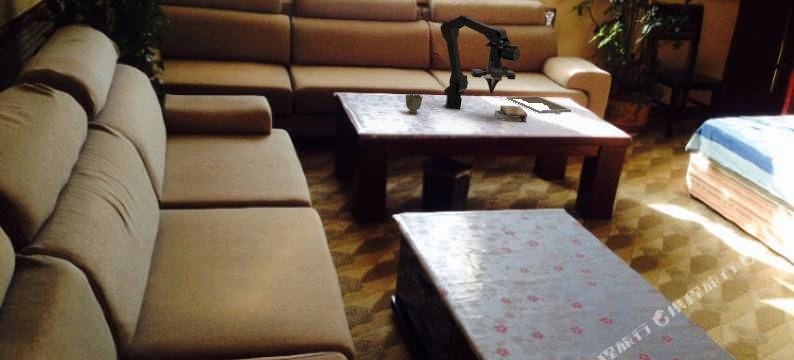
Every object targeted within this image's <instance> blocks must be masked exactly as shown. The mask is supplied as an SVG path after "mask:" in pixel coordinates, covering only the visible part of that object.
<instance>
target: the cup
mask: <svg viewBox="0 0 794 360" xmlns="http://www.w3.org/2000/svg"><path fill="white" fill-rule="evenodd" d="M423 97H424V96H423V95H421V94H419V93H418V94H416V93H414V94H413V93H407V94H405V105H406V108H407V109H408V113H409V114H411V115H412V114H413V115H414V114H417V112H418V110H419V109H420V108H421V105H422V101H423Z"/></svg>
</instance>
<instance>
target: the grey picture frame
mask: <svg viewBox="0 0 794 360" xmlns="http://www.w3.org/2000/svg"><path fill="white" fill-rule="evenodd" d="M505 99H506V100H507V99H508V100H507V101H509V100H511V101H513V102H512V103H514V102H515V103H514V104H516V103H518V104H520V105H522V106H521V107H523V106H524V107H523V108H525V107H526V109H527V108H529V109H531V110H530V111H532V110H533V111H532V112H534V111H535V112H534V113H536V112H538V113H542V114H553V113H554V115H560V114H561V113H571V112H572V109H571V108H568V107H565V106H563V105H561V104H558V103H556V102H553V101H551V100H549V99H546V98H544V97H541V96H539V95H527V96H525V95H524V96H506V97H505ZM513 99H522V100H523V101H526V102H528V103H543V104H544V105H547V106H548V107H549V109H551V110H542V111H539V110H536V109H534V108H532V107H530V106H527V105H525V104H523V103H520V102H518V101H516V100H513ZM511 101H510V102H511ZM518 104H517V105H518ZM520 105H519V106H520ZM529 109H528V110H529ZM538 113H537V114H538Z"/></svg>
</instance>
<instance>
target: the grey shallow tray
mask: <svg viewBox="0 0 794 360" xmlns="http://www.w3.org/2000/svg"><path fill="white" fill-rule="evenodd" d="M493 114H494V116H495V118H496V117H497V118H496V119H497V120H502V119H505V118H520V115H507V114H506V113H505V112H504V111H500V109H499V110H498V109H497V110H494V113H493Z"/></svg>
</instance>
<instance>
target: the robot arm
mask: <svg viewBox="0 0 794 360" xmlns="http://www.w3.org/2000/svg"><path fill="white" fill-rule="evenodd" d="M464 27H466V28H468V29H471V30H473V31H475V32H477V33H479V34H481V35H483V36H484V37H485V38H486V39H487V41H489V42H487V43H486V44H485V47H488V48H489V52H488V53H489V54H488V60H487V67H486V70H485V71H484V70H482V69H480V68H472V69H471V71H470V72H471V73H470V76H472V78H478V79H479V78H480V79H481V78H484V80H486V83H487V86H488V92H489V94H493V93H494V90H495V89H496V87H497V85H498V83H499V82H500V81H503V77H504V78H507V79H508V80H516V75H517V74H516V73H515V72H514V71H513V70H509V69H508V67H507V66H502V64H503V61H508V62H513V63H517V62H518V61H519V60H520V57H521V53H520V52H521V51H520V49H519V45H514V44H511V41H510V40H509V37H508V34H507V31H506V29H505V28H501V27H497V26H491V25H488V24H487V23H484V22H481V21H479V20H477V19H475V18H473V17H471V16H469V14H468V15H467V14H463V15H460V16H458V17H455V18H454V19H453V18H452V19H451V20H449V21H443V22H442V23H441V24H440V32H441V36H442V38H443V39H444V42H445V43H446V48H447V54H448V55H447V56H448V62H449V68H450V76H449V80H448V83H449V84H448V86H447V87H445V89H444V90H443V92H444V95H445V96H446V98H445V103H444V106H445V108H446V109H451V110H453V109H454V110H461V108H462V101H463V98H462V95H464V93H465V91H467V89H468V85H469V80H468V75H467V74H464V73H463V70H462V65H461V57H460V52H459V51H460V50H459V45H458V39H459V35H460V29H462V28H464Z"/></svg>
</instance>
